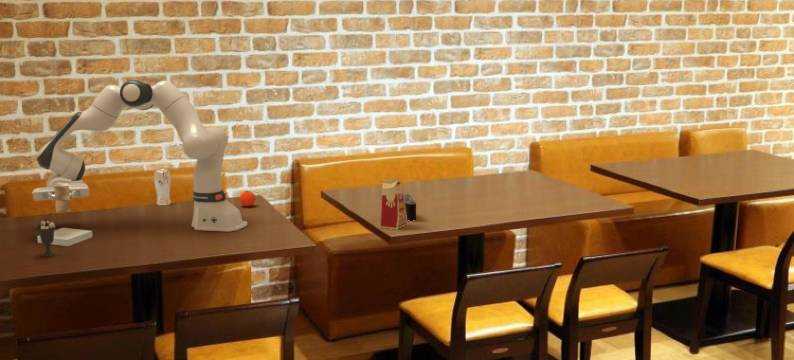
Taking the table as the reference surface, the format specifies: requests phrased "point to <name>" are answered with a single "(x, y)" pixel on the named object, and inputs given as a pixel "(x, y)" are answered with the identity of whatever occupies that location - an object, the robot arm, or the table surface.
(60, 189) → the beech block
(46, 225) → the sundae
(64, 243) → the trivet
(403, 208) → the milk carton
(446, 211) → the table surface
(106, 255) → the table surface
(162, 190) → the beer glass
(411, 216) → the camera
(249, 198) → the clementine
